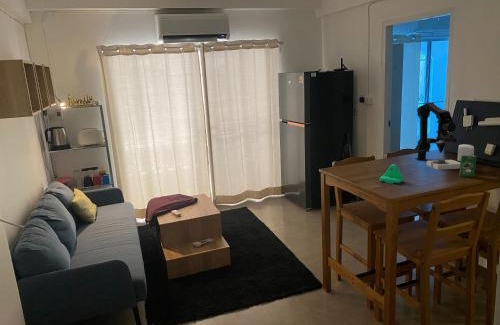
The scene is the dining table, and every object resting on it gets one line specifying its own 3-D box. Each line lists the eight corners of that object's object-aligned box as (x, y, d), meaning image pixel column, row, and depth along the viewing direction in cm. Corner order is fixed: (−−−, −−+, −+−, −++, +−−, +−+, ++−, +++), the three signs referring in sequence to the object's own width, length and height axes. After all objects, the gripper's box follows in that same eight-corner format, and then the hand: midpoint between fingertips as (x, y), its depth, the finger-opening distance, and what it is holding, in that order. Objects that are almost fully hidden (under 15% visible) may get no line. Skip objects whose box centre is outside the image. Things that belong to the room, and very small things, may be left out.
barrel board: (426, 165, 262) (426, 160, 261) (451, 163, 263) (451, 159, 262) (437, 169, 248) (437, 165, 248) (463, 168, 249) (464, 164, 248)
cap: (433, 166, 258) (433, 159, 257) (441, 165, 258) (442, 158, 257) (437, 168, 252) (438, 161, 251) (446, 167, 252) (446, 160, 251)
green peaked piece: (378, 182, 226) (379, 165, 224) (383, 179, 232) (384, 163, 230) (399, 184, 219) (400, 167, 216) (403, 181, 224) (404, 165, 222)
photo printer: (456, 160, 271) (457, 144, 268) (458, 159, 273) (460, 143, 271) (471, 162, 263) (473, 145, 260) (474, 161, 265) (475, 144, 263)
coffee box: (473, 175, 231) (475, 155, 228) (474, 177, 228) (476, 156, 225) (458, 175, 232) (460, 155, 230) (460, 176, 230) (462, 156, 227)
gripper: (435, 132, 241) (433, 155, 245) (463, 130, 242) (461, 154, 246) (426, 130, 252) (425, 152, 256) (453, 128, 253) (451, 151, 257)
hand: (440, 152), depth 253 cm, fingers closed
